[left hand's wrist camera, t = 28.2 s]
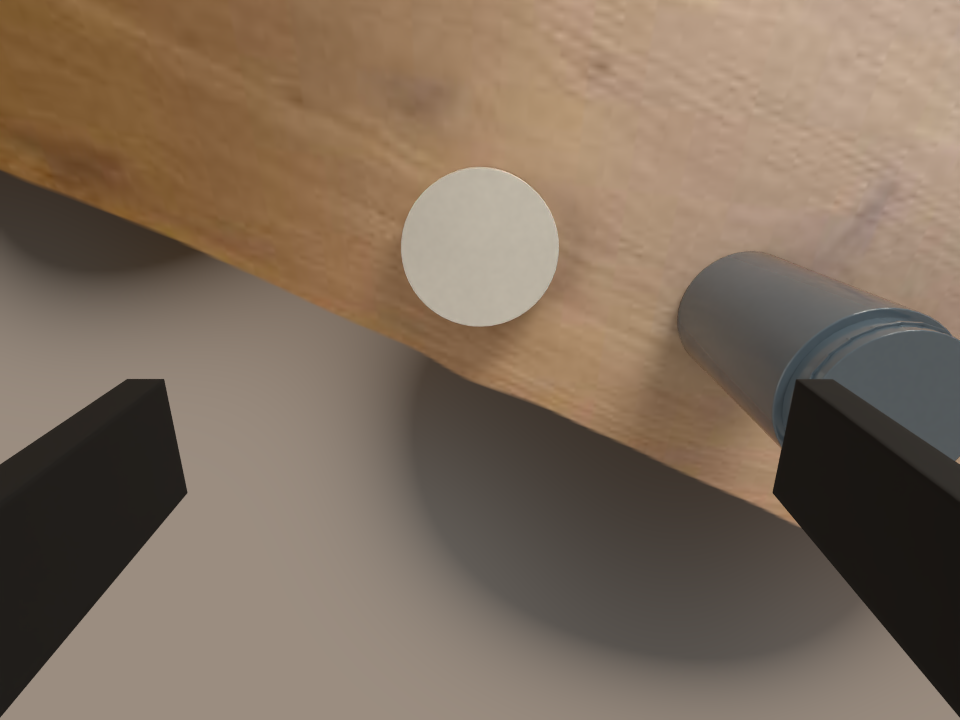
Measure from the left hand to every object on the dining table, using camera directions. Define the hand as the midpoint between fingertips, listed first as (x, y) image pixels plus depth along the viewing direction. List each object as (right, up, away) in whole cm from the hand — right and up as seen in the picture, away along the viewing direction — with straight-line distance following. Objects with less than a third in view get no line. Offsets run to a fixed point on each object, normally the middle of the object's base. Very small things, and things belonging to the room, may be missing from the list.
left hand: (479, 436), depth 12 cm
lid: (0, +8, +23) cm, 24 cm away
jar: (+17, +5, +26) cm, 31 cm away
